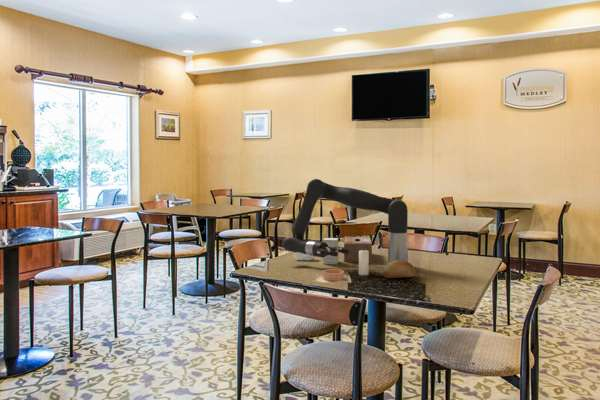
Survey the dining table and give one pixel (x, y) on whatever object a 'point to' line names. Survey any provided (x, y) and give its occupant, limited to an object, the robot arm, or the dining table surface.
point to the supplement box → (331, 259)
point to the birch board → (320, 280)
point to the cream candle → (363, 262)
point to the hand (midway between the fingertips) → (343, 253)
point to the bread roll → (398, 269)
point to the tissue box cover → (357, 248)
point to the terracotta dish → (333, 275)
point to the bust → (303, 256)
